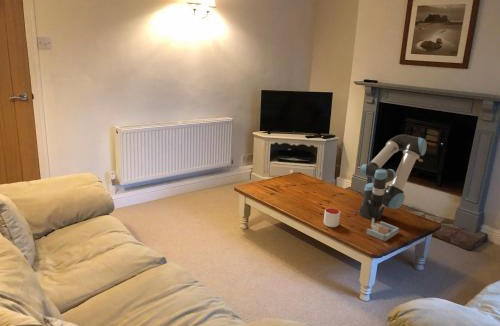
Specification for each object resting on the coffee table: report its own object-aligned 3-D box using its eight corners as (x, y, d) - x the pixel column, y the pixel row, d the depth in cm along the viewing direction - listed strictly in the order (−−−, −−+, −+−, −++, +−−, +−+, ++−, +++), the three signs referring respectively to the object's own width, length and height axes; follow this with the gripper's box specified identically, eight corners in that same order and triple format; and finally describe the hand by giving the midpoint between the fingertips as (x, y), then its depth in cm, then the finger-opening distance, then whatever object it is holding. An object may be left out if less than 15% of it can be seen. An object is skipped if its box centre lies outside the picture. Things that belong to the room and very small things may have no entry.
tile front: (377, 233, 267) (378, 227, 265) (381, 231, 270) (382, 225, 268) (384, 236, 264) (385, 230, 262) (387, 234, 267) (388, 228, 265)
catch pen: (366, 233, 265) (367, 228, 264) (380, 225, 277) (381, 221, 276) (384, 241, 256) (385, 236, 255) (398, 232, 269) (399, 228, 268)
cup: (336, 221, 281) (338, 208, 278) (340, 228, 271) (341, 214, 268) (322, 221, 280) (323, 207, 277) (325, 227, 271) (326, 213, 268)
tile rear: (371, 230, 270) (372, 225, 268) (375, 228, 273) (376, 223, 271) (377, 233, 267) (378, 227, 265) (381, 231, 270) (382, 225, 268)
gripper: (366, 191, 266) (361, 224, 273) (384, 197, 257) (378, 232, 264) (372, 189, 271) (367, 221, 278) (390, 195, 262) (384, 228, 269)
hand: (372, 226), depth 271 cm, fingers closed
